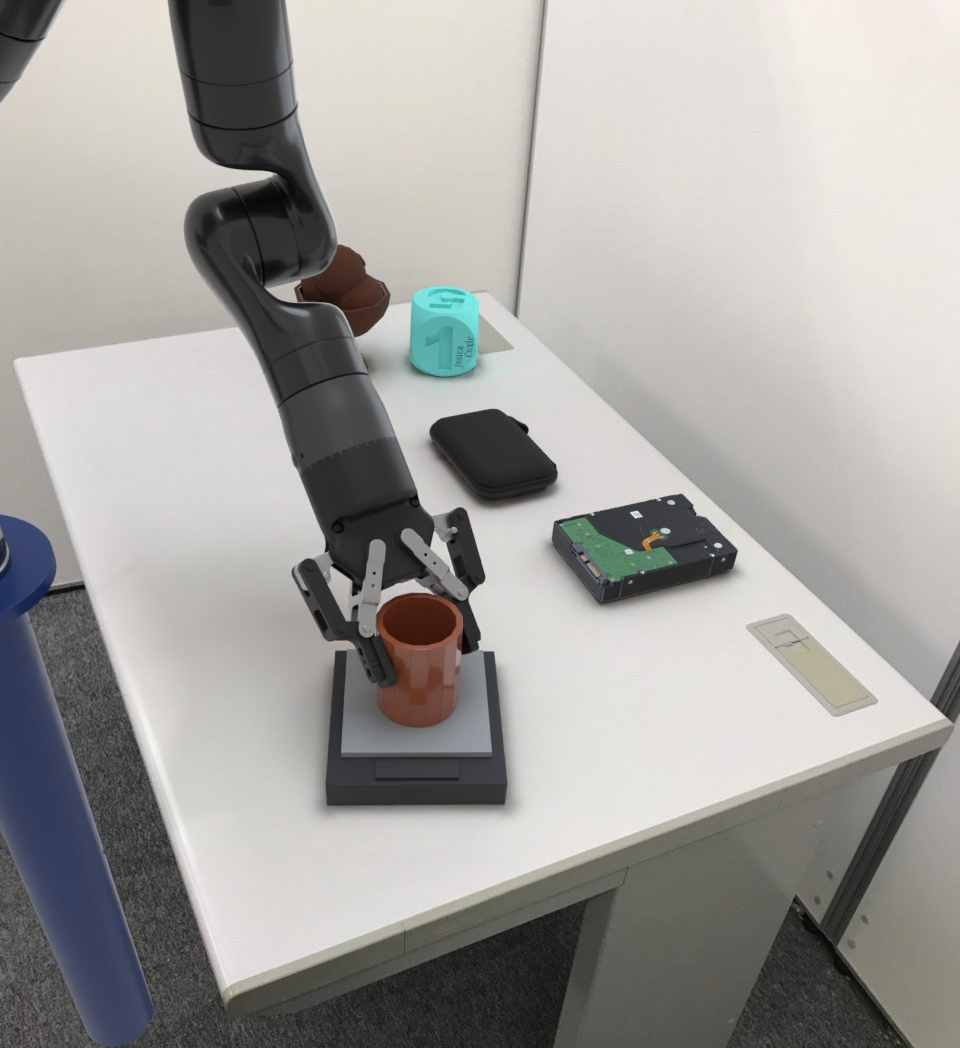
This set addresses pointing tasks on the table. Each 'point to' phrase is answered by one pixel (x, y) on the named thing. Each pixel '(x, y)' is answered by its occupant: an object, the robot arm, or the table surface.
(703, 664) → the table surface
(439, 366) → the decorative dice
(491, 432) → the carrying case
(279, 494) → the table surface
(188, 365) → the table surface
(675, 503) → the disk drive
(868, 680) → the table surface
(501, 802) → the scale
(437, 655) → the cup
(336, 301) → the ice cream bowl
